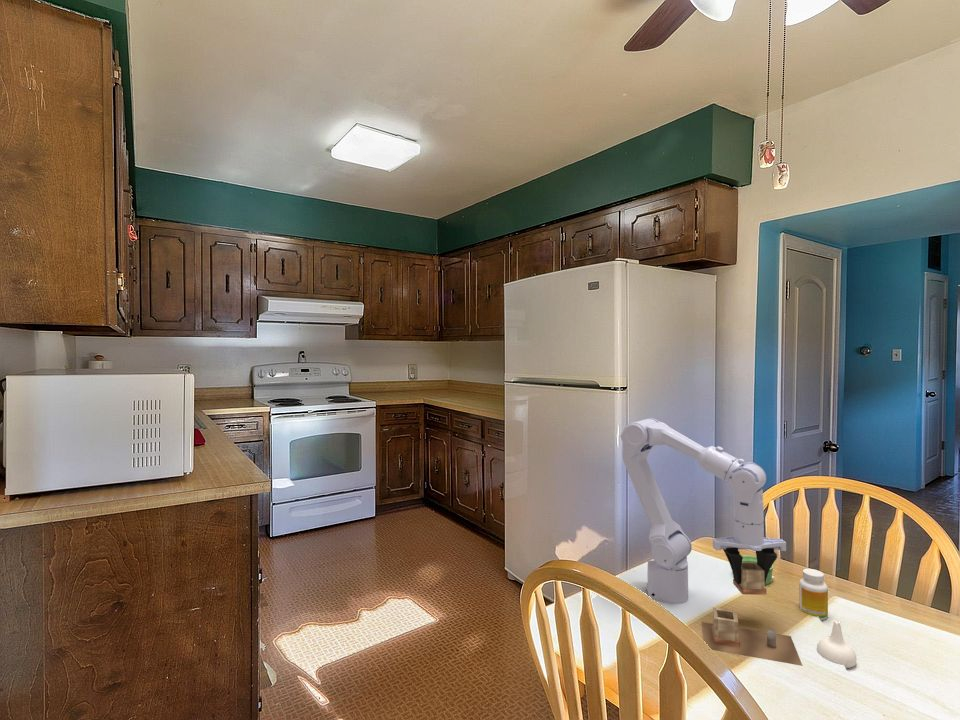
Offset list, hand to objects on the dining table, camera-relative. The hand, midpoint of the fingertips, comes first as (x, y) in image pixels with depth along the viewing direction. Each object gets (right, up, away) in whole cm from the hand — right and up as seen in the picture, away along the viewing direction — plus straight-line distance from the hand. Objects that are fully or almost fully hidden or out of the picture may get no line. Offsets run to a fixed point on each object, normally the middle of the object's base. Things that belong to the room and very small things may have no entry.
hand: (749, 581), depth 109 cm
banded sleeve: (0, -2, 0) cm, 2 cm away
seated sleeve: (-8, -9, -5) cm, 13 cm away
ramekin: (+13, -9, +22) cm, 27 cm away
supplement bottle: (+17, -10, +5) cm, 20 cm away
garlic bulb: (+11, -10, -11) cm, 19 cm away
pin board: (-4, -10, -7) cm, 13 cm away
